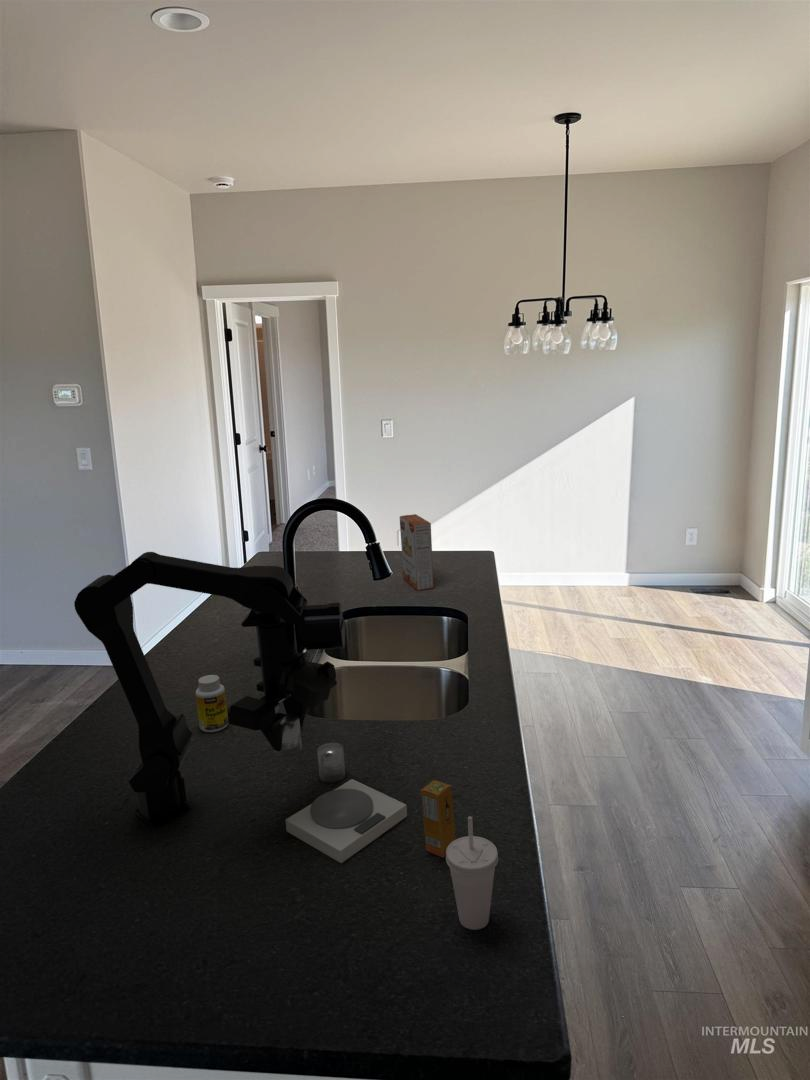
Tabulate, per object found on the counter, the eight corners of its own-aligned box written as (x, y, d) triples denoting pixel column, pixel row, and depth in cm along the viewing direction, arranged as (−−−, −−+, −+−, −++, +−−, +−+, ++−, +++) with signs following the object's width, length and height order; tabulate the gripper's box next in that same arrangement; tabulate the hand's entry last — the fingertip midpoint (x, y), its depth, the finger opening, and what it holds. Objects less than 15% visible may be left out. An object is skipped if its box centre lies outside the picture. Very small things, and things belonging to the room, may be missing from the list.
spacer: (290, 759, 114) (287, 729, 113) (268, 753, 117) (264, 723, 115) (307, 745, 118) (305, 717, 117) (286, 740, 120) (283, 711, 119)
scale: (341, 863, 105) (339, 847, 105) (286, 831, 113) (285, 816, 113) (407, 816, 115) (406, 801, 115) (352, 789, 123) (351, 775, 123)
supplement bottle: (205, 736, 144) (199, 687, 141) (196, 725, 148) (189, 678, 146) (233, 727, 147) (227, 679, 144) (223, 717, 151) (217, 670, 149)
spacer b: (331, 785, 125) (329, 758, 124) (314, 776, 128) (311, 750, 127) (350, 774, 128) (348, 747, 127) (333, 766, 131) (330, 740, 130)
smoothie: (495, 899, 97) (493, 803, 94) (503, 936, 91) (501, 835, 87) (446, 902, 97) (442, 806, 93) (451, 939, 90) (446, 838, 87)
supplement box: (437, 838, 110) (434, 777, 107) (456, 847, 107) (454, 785, 105) (423, 850, 107) (420, 788, 105) (442, 859, 105) (439, 796, 103)
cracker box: (402, 579, 239) (398, 515, 234) (419, 577, 241) (416, 513, 236) (415, 591, 226) (412, 524, 221) (434, 588, 227) (431, 521, 223)
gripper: (280, 683, 102) (290, 785, 105) (355, 636, 117) (362, 727, 121) (219, 670, 107) (231, 768, 111) (299, 627, 123) (307, 714, 126)
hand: (287, 743), depth 117 cm, fingers closed on spacer, 4 cm apart
